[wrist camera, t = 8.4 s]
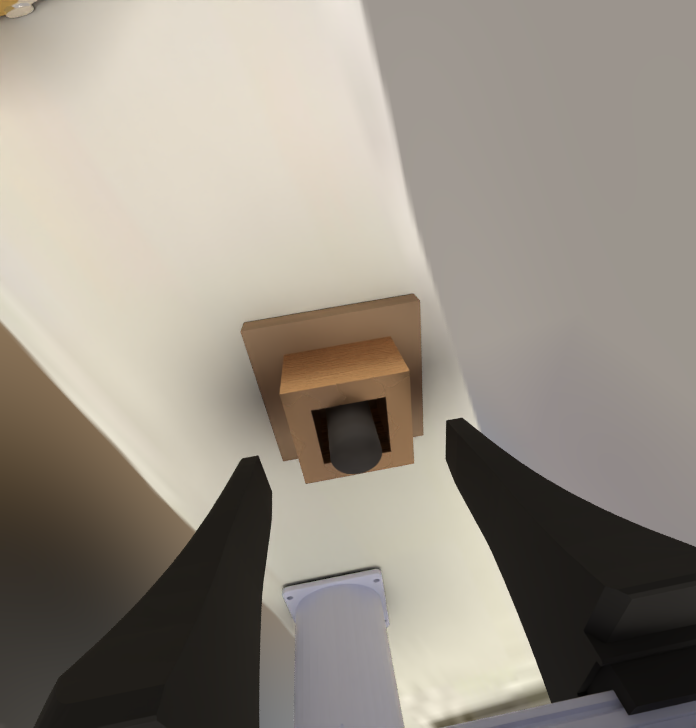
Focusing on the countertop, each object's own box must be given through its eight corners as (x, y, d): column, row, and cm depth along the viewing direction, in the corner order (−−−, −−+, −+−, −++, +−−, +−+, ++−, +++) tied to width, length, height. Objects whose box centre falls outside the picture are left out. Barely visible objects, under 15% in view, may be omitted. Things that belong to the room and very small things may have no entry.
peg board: (418, 423, 19) (455, 503, 15) (284, 448, 19) (277, 537, 14) (413, 293, 15) (462, 345, 11) (244, 322, 15) (217, 388, 10)
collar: (396, 419, 18) (414, 463, 15) (305, 435, 18) (305, 483, 15) (390, 336, 15) (409, 371, 13) (283, 354, 15) (279, 394, 12)
